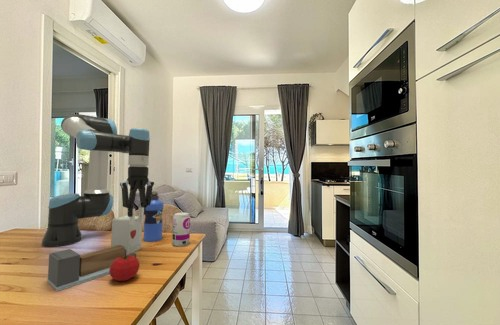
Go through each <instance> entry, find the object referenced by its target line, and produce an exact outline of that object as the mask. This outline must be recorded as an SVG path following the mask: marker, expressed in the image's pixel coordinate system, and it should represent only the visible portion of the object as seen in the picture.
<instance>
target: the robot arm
mask: <svg viewBox="0 0 500 325" xmlns="http://www.w3.org/2000/svg"><path fill="white" fill-rule="evenodd" d="M60 127H61V130H62V132H64V134H66V135H68V137H72V138H75V144H76V148H78V149H79V150H85V151H89V158H88V172H87V173H88V176H87V189H86V190H85V191H84V192H83V195H81V196H80V193H67V194H61V195H57V196H53V197H51V198H50V199H49V201H48V207H47V209H48V213H47V214H48V216H47V229H46V231H45V233H44V235H43V237H42V240H41V246H43V247H44V248H45V247H46V248H48V247H49V248H52V247H62V246H68V245H72V244H77V243H78V242H81V241H82V237H83V235H82V232H81V230H80V226H79V220H81V219H87V218H98V217H104V216H107V215H109V214H110V213H111V211H112V209H113V206H114V197H113V195H112V194H110V191H109V190H108V189H107V184H108V170H109V169H108V168H109V152H110V153H114V152H115V153H122V154H128V163H127V165H128V167H127V179H126V180H125V181H123V182H120V183H119V186H120V187H121V198H122V199H121V200H122V207H123V208H126V209H127V216H128V217H130V219H129V224H130V225H135V216H136V208H134V207H135V200H136V194H137V191H138V192H139V202H140V203H139V204H140V206H138V214H137V216H138V223H141V224H142V225H144V222H145V214H146V207H147V206H148V205H150V204H151V196H152V192H153V187H154V185H155V182H154V181H151V180H149V178H148V177H149V165H150V164H149V163H150V162H149V158H150V142H151V138H150V131H149V130H148V129H145V128H140V127H133V128H132V127H131V128H130V129H129V133H128V135H126V134H118V128H117V127H118V126H117V124H116V123H115V122H114V120H112V119H108V118H105V117H99V116H93V115H87V114H81V113H80V114H71V115H67V116H65V117H63V119H62V120H61V123H60ZM128 187H130V188H128Z"/></svg>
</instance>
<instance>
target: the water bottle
mask: <svg viewBox="0 0 500 325" xmlns="http://www.w3.org/2000/svg"><path fill="white" fill-rule="evenodd" d="M159 198H160V197H159V193H158V191H152V196H151V204H150V205H148V206H147V207H146V214H145V215H144V222H143V238H142V239H143V240H142V241H144V242H146V241H147V243H153V241H155V242H158V241H159V242H160V241H161V240H162V239H163V224H164V223H163V212H164V202H163V201H161V200H159Z"/></svg>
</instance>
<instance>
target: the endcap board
mask: <svg viewBox="0 0 500 325" xmlns="http://www.w3.org/2000/svg"><path fill="white" fill-rule="evenodd" d="M80 255H81V254H79V253H78V252H76V251H74V250H73V249H71V248H67V249H63V250H59V251H54V252H49V253H48V267H47V268H48V271H47V280H46V281H47V283H48V284H49V285H50V286H51V287H52V288H53V289H54V290H55V291H56V292H59V291H62V290H66V289H68V288H71V287H75V286H78V285H81V284H83V283H86V282H90V281H93V280H96V279H98V278H101V277H104V276H108V275H110V268H107V269H104V270H101V271H97V272H94V273H91V274H88V275H85V276H82V277H80V276H79V265H80ZM125 255H126V249H125ZM129 255H131V256H135V257H136V258H137V253H136V252H133V253H131V254H129Z"/></svg>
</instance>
